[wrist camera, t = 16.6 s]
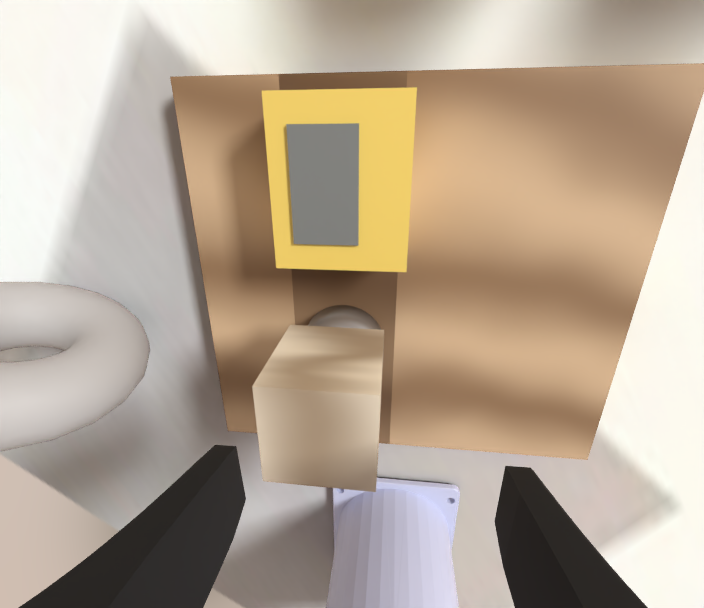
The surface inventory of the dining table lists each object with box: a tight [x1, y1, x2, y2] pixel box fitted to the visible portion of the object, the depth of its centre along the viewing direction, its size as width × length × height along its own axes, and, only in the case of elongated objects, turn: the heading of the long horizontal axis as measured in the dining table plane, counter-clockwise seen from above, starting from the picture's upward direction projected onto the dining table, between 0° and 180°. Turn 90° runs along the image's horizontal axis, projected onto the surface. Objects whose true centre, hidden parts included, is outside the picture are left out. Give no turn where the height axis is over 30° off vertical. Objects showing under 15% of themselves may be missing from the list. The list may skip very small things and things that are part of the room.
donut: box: [0, 282, 150, 451], centre depth 17 cm, size 10×4×10 cm, turn 71°
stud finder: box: [262, 87, 417, 272], centre depth 14 cm, size 6×5×3 cm
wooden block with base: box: [252, 305, 384, 492], centre depth 15 cm, size 4×4×7 cm
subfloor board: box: [170, 63, 704, 460], centre depth 18 cm, size 18×20×2 cm
